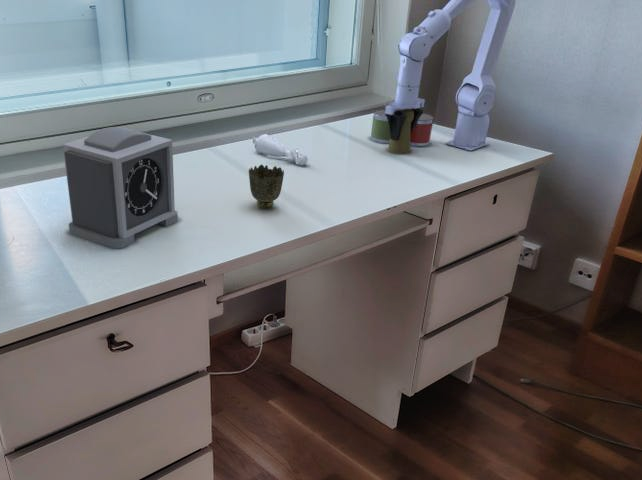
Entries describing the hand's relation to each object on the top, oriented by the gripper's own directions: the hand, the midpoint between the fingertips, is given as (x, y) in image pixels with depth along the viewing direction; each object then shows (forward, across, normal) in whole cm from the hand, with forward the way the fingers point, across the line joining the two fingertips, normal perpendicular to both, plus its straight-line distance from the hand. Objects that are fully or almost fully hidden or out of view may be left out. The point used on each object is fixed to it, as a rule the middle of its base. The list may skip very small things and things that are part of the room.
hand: (400, 138), depth 184 cm
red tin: (+3, +10, +2) cm, 11 cm away
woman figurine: (+3, -30, +15) cm, 34 cm away
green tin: (+3, +5, +9) cm, 11 cm away
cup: (+3, -57, -7) cm, 58 cm away
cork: (+3, 0, 0) cm, 3 cm away
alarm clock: (+3, -86, +3) cm, 87 cm away
